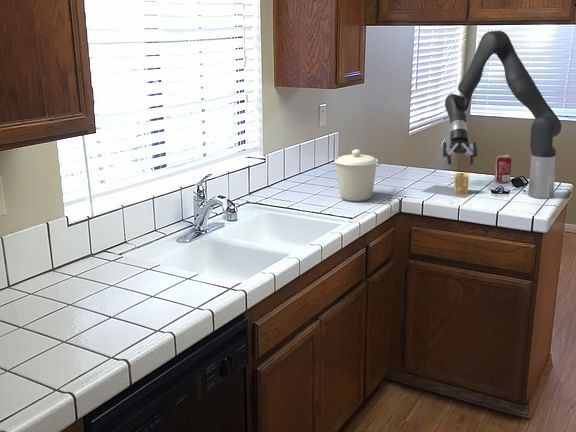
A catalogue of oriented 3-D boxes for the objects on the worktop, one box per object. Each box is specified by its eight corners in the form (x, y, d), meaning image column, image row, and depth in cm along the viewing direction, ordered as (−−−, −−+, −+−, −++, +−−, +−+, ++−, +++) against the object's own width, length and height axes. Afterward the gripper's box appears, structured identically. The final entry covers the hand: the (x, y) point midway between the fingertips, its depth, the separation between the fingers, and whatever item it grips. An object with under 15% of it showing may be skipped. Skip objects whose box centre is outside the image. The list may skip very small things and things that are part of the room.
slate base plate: (478, 194, 271) (478, 190, 270) (465, 201, 260) (465, 197, 260) (435, 188, 283) (435, 184, 283) (420, 194, 272) (420, 191, 272)
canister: (363, 206, 257) (363, 155, 251) (326, 200, 268) (325, 151, 262) (385, 196, 271) (386, 147, 265) (349, 191, 282) (349, 144, 276)
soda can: (511, 183, 288) (513, 157, 284) (496, 183, 288) (498, 157, 285) (507, 179, 294) (509, 154, 291) (492, 180, 294) (494, 154, 291)
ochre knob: (466, 191, 270) (467, 172, 268) (467, 194, 266) (468, 174, 263) (454, 191, 271) (455, 172, 269) (455, 194, 266) (456, 174, 264)
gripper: (442, 128, 276) (444, 159, 269) (476, 127, 274) (478, 159, 267) (441, 138, 283) (442, 168, 275) (474, 137, 281) (476, 168, 273)
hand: (460, 164), depth 271 cm, fingers open, 8 cm apart
